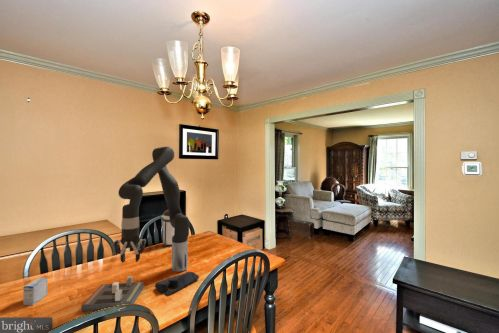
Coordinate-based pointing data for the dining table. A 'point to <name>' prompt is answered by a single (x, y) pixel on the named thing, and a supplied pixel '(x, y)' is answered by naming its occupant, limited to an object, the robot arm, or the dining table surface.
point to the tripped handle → (115, 287)
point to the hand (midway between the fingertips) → (130, 261)
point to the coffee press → (167, 229)
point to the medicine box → (34, 291)
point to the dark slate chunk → (176, 283)
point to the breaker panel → (113, 295)
